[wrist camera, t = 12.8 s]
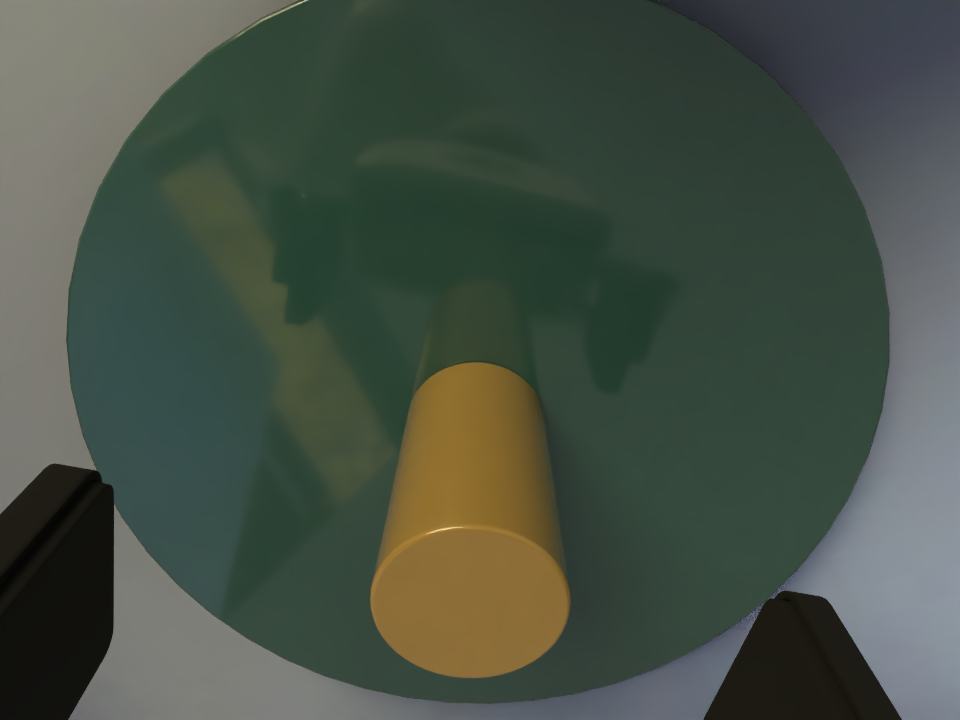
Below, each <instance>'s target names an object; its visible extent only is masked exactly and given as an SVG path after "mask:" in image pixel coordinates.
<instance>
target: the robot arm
mask: <svg viewBox="0 0 960 720" xmlns="http://www.w3.org/2000/svg"><path fill="white" fill-rule="evenodd" d="M113 614H114V490H113V487H112V485H110V484H105V483H102V477H101V474H100V472H98V471H95V470H89V469H83V468H78V467H72V466H66V465H60V464H51V465H49V466H47V467H46V468H45V469H44V470H43V471H42V472H41V473H40V474H39V475H38V476H37V477H36V478H35V479H34V480H33V481H32V482H31V483H30V484H29V485H28V486H27V487H26V488H25V489H24V490H23V491H22V493H21V494H20V495H19V496H18V497H17V498H16V499H15V500H14V501H13V502H12V503H11V504H10V505H9V506H8V507H7V508H6V509H5V510H4V511H3V512H2V513H1V514H0V720H68V719H69V717H70V715H71V714H72V712H73V710H74V709H75V707H76V705H77V703H78V702H79V700H80V698H81V697H82V695H83V693H84V691H85V690H86V688H87V686H88V685H89V683H90V681H91V679H92V678H93V676H94V674H95V673H96V671H97V669H98V668H99V666H100V664H101V662H102V661H103V659H104V657H105V655H106V653H107V651H108V648H109V646H110V642H111V639H112V635H113ZM704 720H902V719H901V717H900V716H899V714H898V713H897V711H896V709H895V708H894V706H893V704H892V703H891V701H890V700H889V698H888V696H887V695H886V693H885V691H884V690H883V688H882V687H881V685H880V683H879V682H878V680H877V678H876V677H875V675H874V674H873V672H872V670H871V669H870V667H869V666H868V664H867V662H866V661H865V659H864V657H863V656H862V654H861V653H860V651H859V649H858V648H857V646H856V644H855V643H854V641H853V640H852V638H851V636H850V635H849V633H848V631H847V630H846V628H845V627H844V625H843V623H842V622H841V620H840V618H839V617H838V615H837V614H836V612H835V610H834V609H833V607H832V605H831V604H830V603H829V602H828V601H827V600H826V599H825V598H823V597H820V596H814V595H809V594H803V593H797V592H791V591H782V592H780V593H779V594H778V595H777V596H776V597H775V599H769V600H767V601H766V602H765V604H764V605H763V607H762V609H761V611H760V613H759V615H758V616H757V618H756V620H755V622H754V624H753V626H752V628H751V630H750V632H749V634H748V635H747V637H746V639H745V641H744V643H743V645H742V647H741V649H740V651H739V653H738V655H737V656H736V658H735V660H734V662H733V664H732V666H731V668H730V670H729V672H728V674H727V675H726V677H725V679H724V681H723V683H722V685H721V687H720V689H719V691H718V693H717V694H716V696H715V698H714V700H713V702H712V704H711V706H710V708H709V710H708V712H707V713H706V715H705V717H704Z"/></svg>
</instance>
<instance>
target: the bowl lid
mask: <svg viewBox="0 0 960 720" xmlns="http://www.w3.org/2000/svg"><path fill="white" fill-rule="evenodd" d="M66 342H67V352H68V362H69V372H70V382H71V390H72V394H73V398H74V402H75V406H76V410H77V414H78V418H79V422H80V426H81V431H82V434H83V437H84V440H85V442H86V445H87V447H88V450H89V452H90V455H91V457H92V460H93V462H94V465H95V467H96V470H97V471H98V472H100V474H101V477H102V483H105V484H110V485H112V487H113V490H114V504H115V506H116V508H117V510H118V511H119V513H120V515H121V517H122V518H123V520H124V521H125V522H126V524H127V525H128V526H129V528H130V529H131V531H132V532H133V533H134V535H135V536H136V537H137V539H138V540H139V541H140V543H141V544H142V546H143V547H144V548H145V550H146V551H147V552H148V554H149V555H150V556H151V557H152V558H153V559H154V560H155V561H156V562H157V563H158V564H159V565H160V567H161V568H162V569H163V570H164V571H165V572H166V573H167V574H168V575H169V576H170V577H171V578H172V579H173V580H174V582H175V583H176V584H177V585H178V586H179V587H181V588H182V589H183V590H184V591H185V592H186V593H187V594H189V595H190V596H191V597H192V598H193V599H194V600H196V601H197V602H198V603H199V604H200V605H201V606H203V607H204V608H205V609H206V610H207V611H208V612H210V613H211V614H212V615H214V616H215V617H216V618H218V619H219V620H221V621H222V622H224V623H225V624H227V625H228V626H230V627H231V628H232V629H234V630H235V631H237V632H238V633H240V634H241V635H243V636H244V637H245V638H247V639H249V640H251V641H252V642H254V643H256V644H258V645H260V646H262V647H263V648H265V649H267V650H269V651H271V652H273V653H274V654H276V655H278V656H280V657H282V658H283V659H286V660H288V661H290V662H293V663H295V664H297V665H300V666H302V667H304V668H307V669H309V670H311V671H314V672H316V673H318V674H321V675H323V676H326V677H329V678H332V679H336V680H339V681H342V682H345V683H348V684H351V685H355V686H358V687H361V688H364V689H369V690H373V691H378V692H383V693H387V694H392V695H397V696H401V697H406V698H414V699H423V700H431V701H440V702H448V703H486V704H492V703H507V702H522V701H534V700H541V699H547V698H553V697H559V696H566V695H572V694H577V693H581V692H584V691H588V690H592V689H596V688H600V687H604V686H608V685H612V684H615V683H618V682H621V681H624V680H626V679H629V678H632V677H635V676H637V675H640V674H643V673H646V672H648V671H651V670H654V669H656V668H658V667H660V666H663V665H665V664H667V663H669V662H671V661H673V660H675V659H677V658H679V657H681V656H683V655H685V654H687V653H690V652H692V651H694V650H695V649H697V648H699V647H700V646H702V645H704V644H705V643H707V642H708V641H710V640H712V639H713V638H715V637H717V636H718V635H720V634H721V633H723V632H725V631H726V630H728V629H730V628H731V627H732V626H734V625H735V624H736V623H738V622H739V621H740V620H742V619H743V618H744V617H745V616H747V615H748V614H749V613H751V612H752V611H753V610H754V609H756V608H757V607H758V606H760V605H761V604H762V603H764V602H765V601H766V600H767V599H768V598H769V597H770V596H771V595H772V594H773V593H774V592H775V591H776V590H777V589H778V588H779V587H780V586H781V585H782V584H783V583H785V582H786V581H787V580H788V579H789V578H790V577H791V576H792V575H793V574H794V573H795V572H796V571H797V570H798V569H799V567H800V566H801V565H802V564H803V562H804V561H805V560H806V559H807V558H808V556H809V555H810V554H811V553H812V551H813V550H814V549H815V548H816V546H817V545H818V544H819V543H820V542H821V540H822V539H823V538H824V537H825V535H826V534H827V532H828V531H829V529H830V527H831V526H832V524H833V523H834V521H835V519H836V518H837V516H838V515H839V513H840V511H841V510H842V508H843V507H844V505H845V503H846V502H847V500H848V499H849V497H850V495H851V492H852V490H853V488H854V486H855V484H856V482H857V479H858V477H859V475H860V473H861V471H862V468H863V466H864V464H865V462H866V460H867V457H868V455H869V452H870V449H871V445H872V442H873V439H874V435H875V432H876V429H877V425H878V422H879V419H880V415H881V412H882V408H883V401H884V394H885V388H886V381H887V374H888V368H889V306H888V300H887V294H886V287H885V281H884V274H883V268H882V261H881V257H880V254H879V251H878V248H877V245H876V242H875V238H874V235H873V232H872V229H871V226H870V223H869V220H868V217H867V213H866V210H865V208H864V206H863V204H862V202H861V200H860V198H859V196H858V194H857V192H856V190H855V188H854V186H853V184H852V182H851V180H850V178H849V176H848V174H847V172H846V170H845V168H844V166H843V164H842V162H841V160H840V158H839V157H838V155H837V154H836V153H835V151H834V150H833V148H832V147H831V146H830V144H829V143H828V141H827V140H826V139H825V137H824V136H823V135H822V133H821V132H820V130H819V129H818V128H817V126H816V125H815V123H814V122H813V121H812V119H811V118H810V117H809V115H808V114H807V112H806V111H805V110H804V109H803V108H802V107H801V106H800V105H799V104H798V103H797V102H796V101H795V100H794V99H793V98H792V97H791V96H790V95H789V94H788V93H787V92H786V91H785V90H784V89H783V88H782V87H781V86H780V85H779V84H778V83H777V82H776V81H775V80H774V79H773V78H772V77H771V76H770V75H769V74H768V73H767V72H766V71H765V70H764V69H763V68H762V67H761V66H760V65H758V64H757V63H756V62H754V61H753V60H751V59H750V58H749V57H747V56H746V55H745V54H743V53H742V52H741V51H739V50H738V49H736V48H735V47H734V46H732V45H731V44H730V43H728V42H727V41H726V40H724V39H723V38H721V37H720V36H719V35H717V34H716V33H715V32H713V31H712V30H710V29H708V28H707V27H705V26H703V25H701V24H699V23H697V22H695V21H693V20H691V19H689V18H687V17H685V16H683V15H681V14H680V13H678V12H676V11H674V10H672V9H670V8H668V7H666V6H664V5H662V4H660V3H658V2H656V1H655V0H299V1H297V2H295V3H293V4H291V5H288V6H286V7H284V8H282V9H280V10H277V11H275V12H273V13H271V14H269V15H266V16H264V17H262V18H260V19H259V20H257V21H256V22H254V23H253V24H251V25H250V26H248V27H246V28H245V29H243V30H242V31H240V32H239V33H237V34H236V35H234V36H233V37H231V38H230V39H228V40H227V41H225V42H224V43H222V44H221V45H219V46H217V47H216V48H214V49H213V50H211V51H210V52H208V53H207V54H206V55H205V56H204V57H203V58H202V59H201V60H199V61H198V62H197V63H196V64H195V65H194V66H193V67H192V68H191V69H190V70H188V71H187V72H186V73H185V74H184V75H183V76H182V77H181V78H180V79H178V80H177V81H176V82H175V83H174V84H173V85H172V86H171V87H170V88H169V89H167V90H166V91H165V92H164V93H163V94H162V95H161V97H160V98H159V99H158V100H157V102H156V103H155V104H154V105H153V107H152V108H151V109H150V110H149V112H148V113H147V114H146V115H145V117H144V118H143V119H142V120H141V122H140V123H139V124H138V125H137V127H136V128H135V129H134V130H133V131H132V133H131V134H130V135H129V136H128V138H127V139H126V141H125V142H124V144H123V146H122V148H121V149H120V151H119V153H118V155H117V156H116V158H115V160H114V162H113V163H112V165H111V167H110V169H109V170H108V172H107V174H106V176H105V177H104V179H103V181H102V183H101V184H100V186H99V188H98V191H97V193H96V196H95V199H94V201H93V204H92V207H91V209H90V212H89V215H88V217H87V220H86V223H85V225H84V228H83V231H82V233H81V236H80V239H79V243H78V248H77V253H76V258H75V263H74V268H73V272H72V277H71V282H70V287H69V297H68V317H67V337H66Z"/></svg>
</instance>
